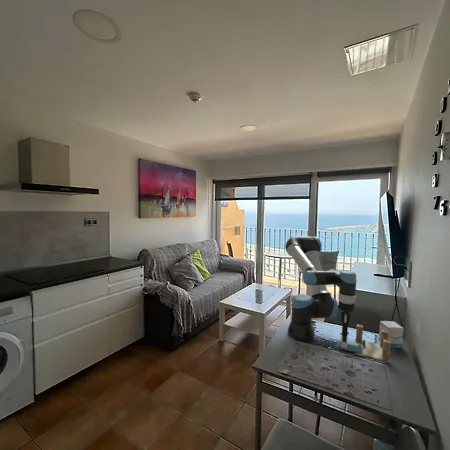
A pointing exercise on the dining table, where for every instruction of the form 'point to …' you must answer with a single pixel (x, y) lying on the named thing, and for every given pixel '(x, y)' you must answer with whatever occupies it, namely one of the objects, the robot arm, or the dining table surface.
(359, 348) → the hinged leg
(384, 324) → the ink box
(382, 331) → the stool seat
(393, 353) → the dining table surface
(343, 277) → the robot arm
